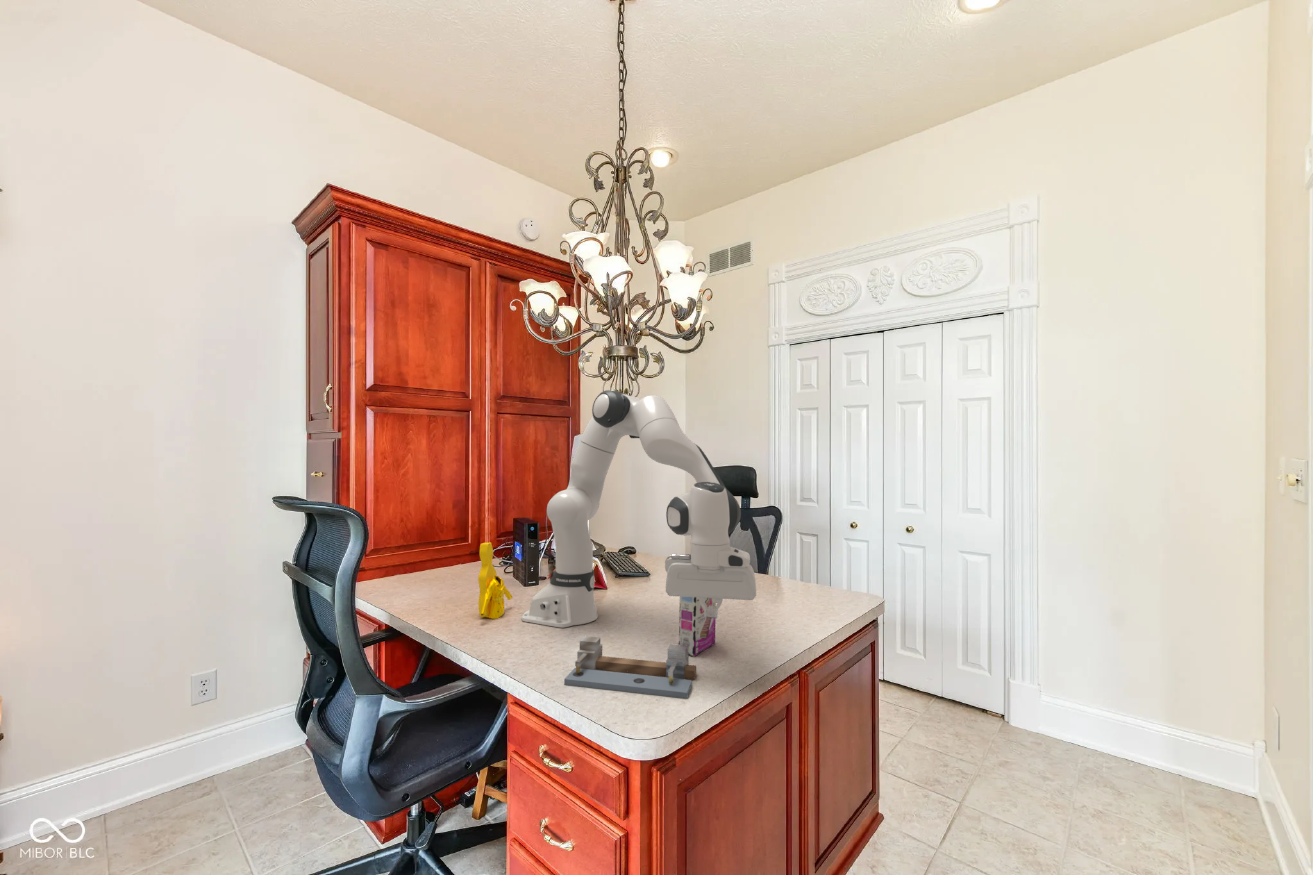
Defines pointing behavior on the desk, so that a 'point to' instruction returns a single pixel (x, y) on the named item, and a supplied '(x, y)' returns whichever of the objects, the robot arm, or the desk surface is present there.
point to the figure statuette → (490, 586)
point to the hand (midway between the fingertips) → (711, 617)
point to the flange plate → (629, 683)
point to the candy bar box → (696, 625)
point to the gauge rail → (619, 661)
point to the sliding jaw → (677, 661)
